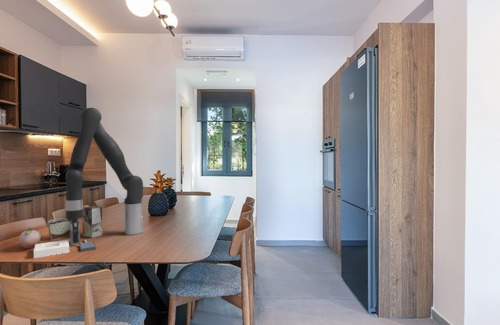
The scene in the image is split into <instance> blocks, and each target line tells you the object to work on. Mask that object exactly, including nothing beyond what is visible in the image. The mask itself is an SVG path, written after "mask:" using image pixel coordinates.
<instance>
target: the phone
mask: <svg viewBox="0 0 500 325" xmlns="http://www.w3.org/2000/svg"><path fill="white" fill-rule="evenodd" d="M83 241H84V242H80V243H79V244H78V245H79V249H80V252H82V253H84V252H87V251H88V252H89V251H93V250H96V248H97V246H96V245H95V242H94V241H87V239H84V240H83Z"/></svg>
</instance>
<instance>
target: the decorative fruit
mask: <svg viewBox="0 0 500 325" xmlns="http://www.w3.org/2000/svg"><path fill="white" fill-rule="evenodd" d="M41 238H42V235H41V233H40V232H39V230H35V229H32V228H31V229H30V227H28V229H26V230H24V231H22V233H20V235H19V237H18V240H19V244H20V245H21V246H22V247H24V248H26V249H31V248H33V247H35V244H40V241H41Z"/></svg>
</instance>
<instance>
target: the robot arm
mask: <svg viewBox="0 0 500 325" xmlns="http://www.w3.org/2000/svg"><path fill="white" fill-rule="evenodd" d="M78 119H79V121H80V123H81V127H80V128H81V129H80V132H79V135H78V137H77V139H76V142H75V144H74V146H73V148H72V152H71V156H70V160H69V161H70V162H69V164H68V167H67V169H66V174H65V184H66V185H65V186H66V190H65V191H66V192H65V218H66V219H71V222H70V226H71V231H72V235H73V243H78V234H79V230H80V225H81V223H80V220H79V219H82V217H83V207H84V203H83V202H84V200H83V189H82V188H83V173H84V167H85V165H86V163H87V161H88V156H89V153H90V149H91V145H92V142H93V140H94V143H95V145H96V146H97V147H98V149H99V150H100V152H101V154H102V156H103V157H104V159H105V160H106V161H107V163H108V164H109V166H110V167H111V169H112V170H113V171H114V173H115V174H116V177H117V178H118V180H119V182H120V185H121V186H122V188H123V190H125V191H126V197H125V198H124V202H123V203H124V204H123V206H124V210H123V211H124V234H125V235H127V236H128V235H138V234H142V233H144V217H143V215H142V213H143V211H142V210H143V209H142V206H143V205H142V200H143V197H144V181H143V179H142V178H141V176H138V175H134V174H133V173H132V172H131V171H130V169H129V167H128V166H127V164H126V159H125V155H124V153H123V151H122V149H121V148H120V145H119V144H118V143H117V142H116V140H115V139H114V138H113V137H112V136H110V134H109V133H108V132H107V131H106V130H105V128H104V127H103V125H102V123H101V121H102V113H101V112H100V111H99V109H97V108H95V107H87V108H85V109H82V110H81V111H80V112H79V115H78ZM74 231H77V232H74Z"/></svg>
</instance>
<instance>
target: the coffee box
mask: <svg viewBox="0 0 500 325" xmlns="http://www.w3.org/2000/svg"><path fill="white" fill-rule="evenodd" d="M81 219H82V220H81V221H82V237H87V238H92V239H93V238H97V237H101V236H103V207H102V206H96V205H95V206H94V205H90V206H83V217H82V218H81Z"/></svg>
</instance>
